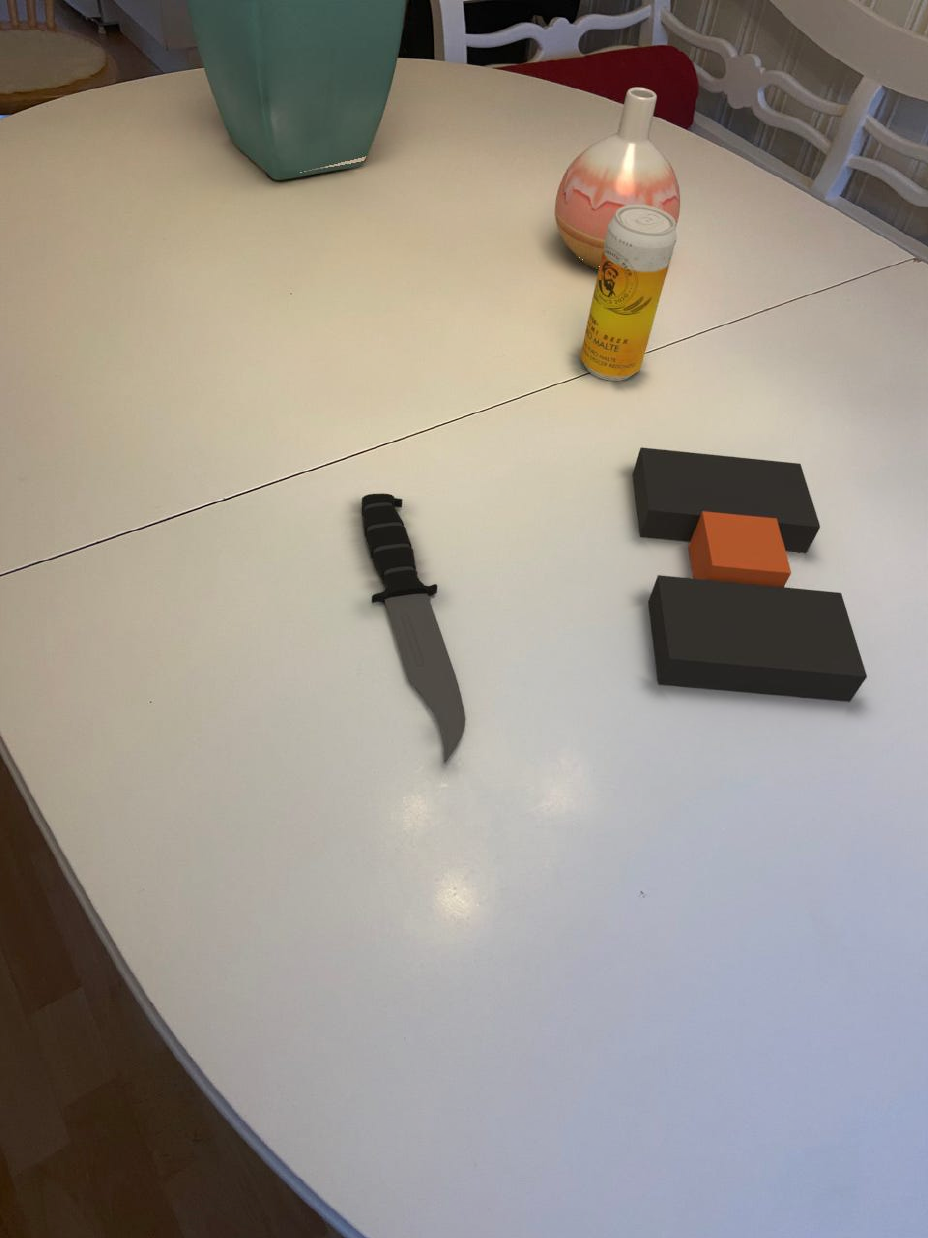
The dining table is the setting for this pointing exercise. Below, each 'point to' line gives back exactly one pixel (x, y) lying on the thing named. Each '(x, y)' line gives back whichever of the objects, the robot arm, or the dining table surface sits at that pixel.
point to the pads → (741, 585)
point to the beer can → (627, 291)
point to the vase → (615, 180)
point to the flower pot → (299, 76)
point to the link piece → (739, 550)
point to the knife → (413, 615)
